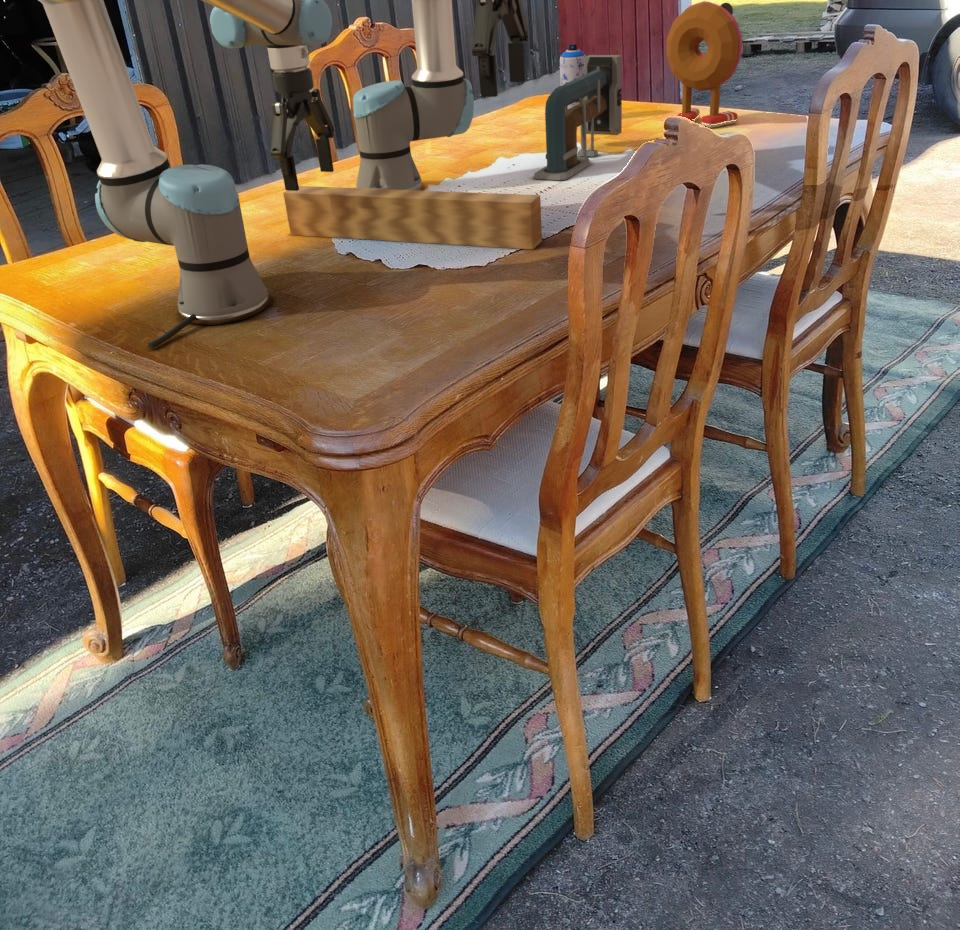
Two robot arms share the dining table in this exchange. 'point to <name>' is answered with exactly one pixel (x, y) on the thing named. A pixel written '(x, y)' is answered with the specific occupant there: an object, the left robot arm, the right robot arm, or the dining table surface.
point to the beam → (416, 216)
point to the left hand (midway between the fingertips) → (310, 180)
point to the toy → (705, 56)
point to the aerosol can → (572, 66)
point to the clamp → (582, 116)
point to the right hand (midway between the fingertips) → (504, 89)
